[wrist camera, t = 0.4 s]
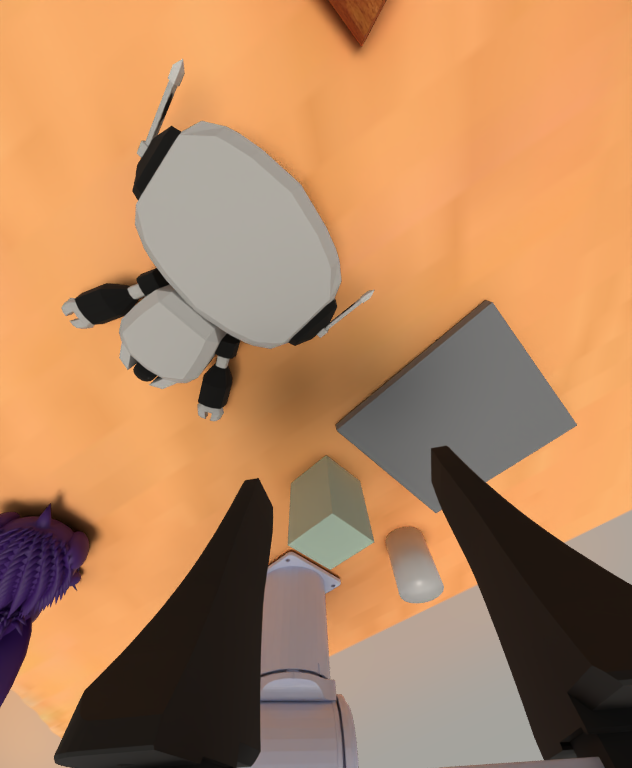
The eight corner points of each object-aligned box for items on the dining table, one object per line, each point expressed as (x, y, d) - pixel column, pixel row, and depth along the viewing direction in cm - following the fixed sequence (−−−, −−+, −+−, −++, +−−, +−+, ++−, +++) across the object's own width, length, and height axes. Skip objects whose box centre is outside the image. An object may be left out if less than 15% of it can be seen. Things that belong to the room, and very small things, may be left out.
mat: (432, 506, 28) (435, 513, 27) (335, 424, 23) (336, 430, 23) (569, 419, 24) (577, 425, 23) (485, 300, 19) (492, 302, 19)
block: (325, 506, 28) (330, 569, 22) (291, 482, 26) (287, 545, 21) (360, 481, 26) (374, 541, 21) (326, 454, 25) (332, 513, 20)
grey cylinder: (400, 556, 32) (416, 608, 27) (377, 540, 30) (390, 592, 26) (430, 538, 30) (452, 589, 26) (408, 521, 29) (426, 572, 25)
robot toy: (228, 408, 24) (372, 275, 18) (209, 445, 20) (386, 289, 14) (83, 298, 19) (217, 84, 14) (22, 317, 15) (176, 30, 10)
